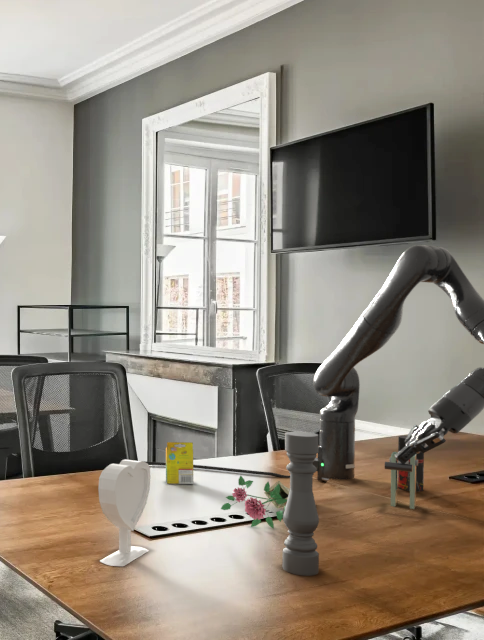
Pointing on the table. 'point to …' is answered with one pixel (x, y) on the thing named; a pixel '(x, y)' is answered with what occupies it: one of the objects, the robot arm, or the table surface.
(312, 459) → the candle holder
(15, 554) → the table surface
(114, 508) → the heart sculpture
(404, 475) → the deodorant
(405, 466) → the lever
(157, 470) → the table surface
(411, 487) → the bracket
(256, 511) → the flower vase
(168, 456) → the crayon box
